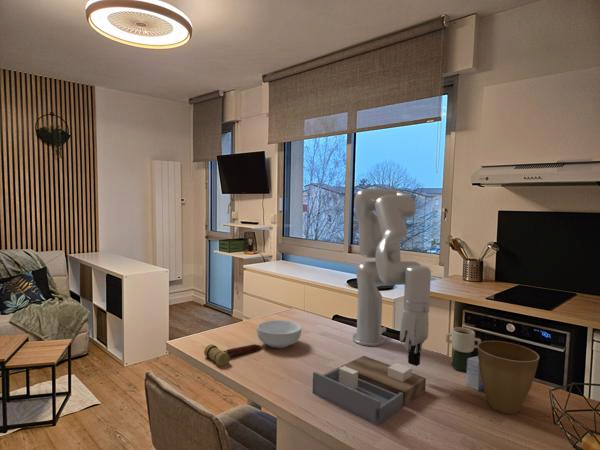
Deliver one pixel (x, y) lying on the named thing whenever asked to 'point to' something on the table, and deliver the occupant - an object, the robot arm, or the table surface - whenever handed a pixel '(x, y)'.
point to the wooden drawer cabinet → (387, 378)
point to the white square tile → (348, 377)
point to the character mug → (462, 346)
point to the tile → (399, 372)
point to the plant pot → (506, 374)
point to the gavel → (227, 353)
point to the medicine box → (474, 374)
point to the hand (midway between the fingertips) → (413, 363)
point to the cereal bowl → (279, 333)
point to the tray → (358, 397)
